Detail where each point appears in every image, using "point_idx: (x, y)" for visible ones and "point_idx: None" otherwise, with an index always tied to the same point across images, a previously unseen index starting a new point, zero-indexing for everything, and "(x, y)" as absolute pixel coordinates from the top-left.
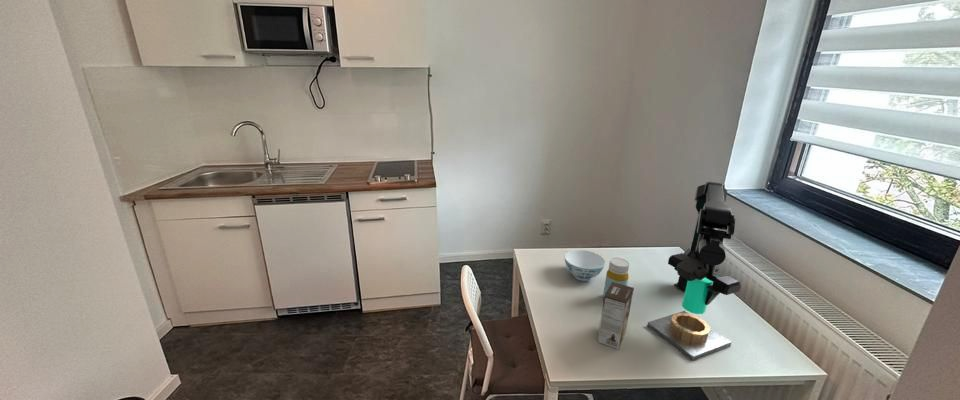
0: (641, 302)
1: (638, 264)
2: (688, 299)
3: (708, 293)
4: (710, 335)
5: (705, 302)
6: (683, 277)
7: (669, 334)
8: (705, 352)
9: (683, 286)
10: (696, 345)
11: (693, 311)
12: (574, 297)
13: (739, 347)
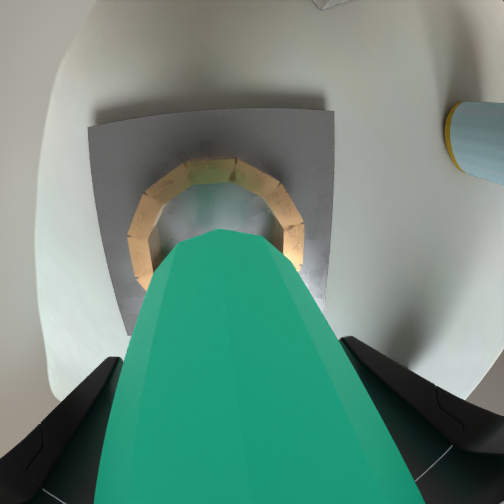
0: (425, 220)
1: (483, 337)
2: (228, 278)
3: (46, 459)
4: None
5: (109, 370)
6: (462, 432)
7: (229, 132)
8: (96, 200)
9: (386, 362)
10: (133, 195)
11: (170, 256)
12: (488, 51)
13: (123, 341)
